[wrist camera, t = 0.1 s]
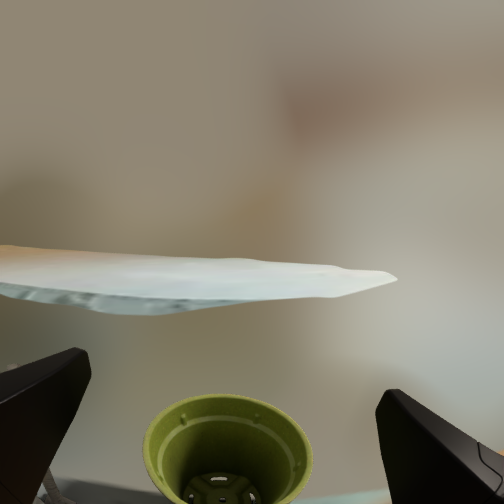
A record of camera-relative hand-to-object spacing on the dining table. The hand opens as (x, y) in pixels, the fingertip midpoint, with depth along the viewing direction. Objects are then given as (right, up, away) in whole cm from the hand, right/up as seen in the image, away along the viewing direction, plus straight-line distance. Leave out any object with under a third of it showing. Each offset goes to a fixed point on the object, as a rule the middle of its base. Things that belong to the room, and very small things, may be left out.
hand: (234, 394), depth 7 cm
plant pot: (-2, -15, +8) cm, 17 cm away
